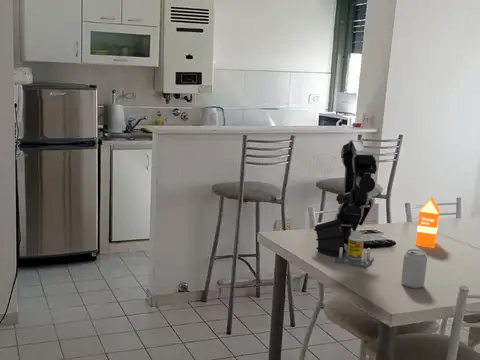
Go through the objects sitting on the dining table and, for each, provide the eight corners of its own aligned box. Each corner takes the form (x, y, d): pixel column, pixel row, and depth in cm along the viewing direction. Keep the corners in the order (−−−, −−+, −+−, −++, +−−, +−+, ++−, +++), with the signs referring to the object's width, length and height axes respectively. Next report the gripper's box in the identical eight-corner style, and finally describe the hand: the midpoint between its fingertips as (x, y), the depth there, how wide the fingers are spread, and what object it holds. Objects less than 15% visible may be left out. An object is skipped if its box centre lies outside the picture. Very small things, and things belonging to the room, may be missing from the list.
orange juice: (415, 245, 248) (420, 198, 245) (417, 240, 256) (422, 195, 253) (434, 248, 246) (440, 201, 242) (436, 242, 254) (441, 197, 250)
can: (397, 281, 204) (401, 247, 202) (418, 281, 204) (422, 248, 202) (405, 289, 196) (409, 254, 194) (427, 289, 197) (431, 255, 195)
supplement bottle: (345, 259, 221) (348, 232, 219) (347, 255, 226) (350, 229, 224) (361, 261, 219) (363, 234, 218) (362, 257, 225) (365, 231, 223)
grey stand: (343, 253, 231) (344, 241, 230) (373, 259, 226) (374, 247, 225) (333, 262, 220) (335, 249, 219) (365, 268, 215) (367, 255, 214)
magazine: (345, 258, 221) (335, 219, 223) (319, 264, 231) (309, 227, 233) (351, 256, 224) (341, 218, 226) (325, 262, 233) (315, 225, 235)
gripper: (346, 180, 229) (343, 219, 232) (332, 187, 213) (328, 229, 216) (375, 184, 225) (371, 224, 228) (362, 192, 208) (358, 235, 211)
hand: (357, 227), depth 221 cm, fingers open, 9 cm apart
